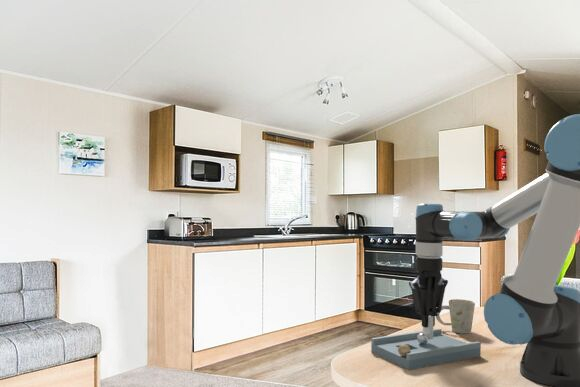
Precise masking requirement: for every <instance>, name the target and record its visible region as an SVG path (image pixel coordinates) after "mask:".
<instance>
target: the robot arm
mask: <svg viewBox="0 0 580 387" xmlns="http://www.w3.org/2000/svg"><path fill="white" fill-rule="evenodd" d="M543 147H544V148H543V149H544V153H545V154H546V159H547V160H548V161H547V165H546V167H545V172H546V173H545V172H544V174H542V175H540V176H539V177H536V178H534V180H533V181H531V182H528V183H527V184H526V185H524V186H522V187H521V188H519V189H518V190H516V191H515V192H513V193H511V194H510V195H508V196H506V197H504V198H503V199H501V200H500V201H498V202H497V203H495V204H493V205H492V206H490V207H488V208H487V209H486V210H483V211H445V210H444V207H443V204H441V203H419V204H417V206H416V212H415V255H416V257H415V264H414V265H415V269H416V274H415V279H414V280H412V281H409V282H408V285H409V287H410V289H411V292H412V298H413V303H414V308H415V313H416V314H419V315H421V327H422V331H423V333H425V334H426V335H427V336H428V339H429V340H430V339H433V329H434V327H435V325H436V322H435V321H436V316H438V314H437V313H441V312H442V311H441V308H442V306H443V303H444V302H443V301H444V296H445V291H446V287H447V285H448V283H449V281H448V280H447V279H445V278H443V277H442V270H443V258H442V256H443V239H444V238H445V239H452V240H459V241H475V240H476V239H497V238H502V237H504V236H506V235H507V234H508V233H509V231H510V229H511V228H513V227H514V226H516V225H518V224H520V223H521V222H523V221H526V220H527V219H529V218H531V217H532V216H534V215H535V218H534V221H533V224H532V226H531V229H530V231H529V234H528V237H527V239H526V242H525V244H524V248H523V250H522V251H521V256H520V258H519V259H518V260H519V261H518V263H517V266H516V267H515V271H514V274H511V275H509V276H506V277H505V278H504V280H503V282H502V285H501V288H500V289H499V292H498V293H494V294H492V295H491V296H490V297H488V298H487V299H486V301H485V303H484V307H483V317H484V321H485V323H486V324H487V328H488V329H489V331H490V333H491V335H493V336H494V337H495V338H496V339H498V341H500V342H502V343H503V344H507V345H512V346H515V345H526V346H525V349H524V352H523V355H522V356H521V360H520V362H519V372H520V374H521V375H522V376H523V377H525V379H528V380H530V381H532V382H536V383H538V384H543V385H545V386H550V387H580V291H579V290H578V289H577V288H574V287H571V286H564V285H558V284H557V282H558V279H559V277H560V274H561V272H562V270H563V268H564V265H565V262H566V260H567V258H568V255H569V252H570V250H571V248H572V245H573V242H574V240H575V238H576V236H577V234H578V231H579V228H580V113H578V114H577V113H576V114H572V115H568V116H566V117H564V118H562V119H560V120H558V122H556V123H555V124H554V125H553V126H552V127H551V128H550V129H549V131H548V133H547V134H546V137H545V140H544V145H543Z"/></svg>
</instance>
